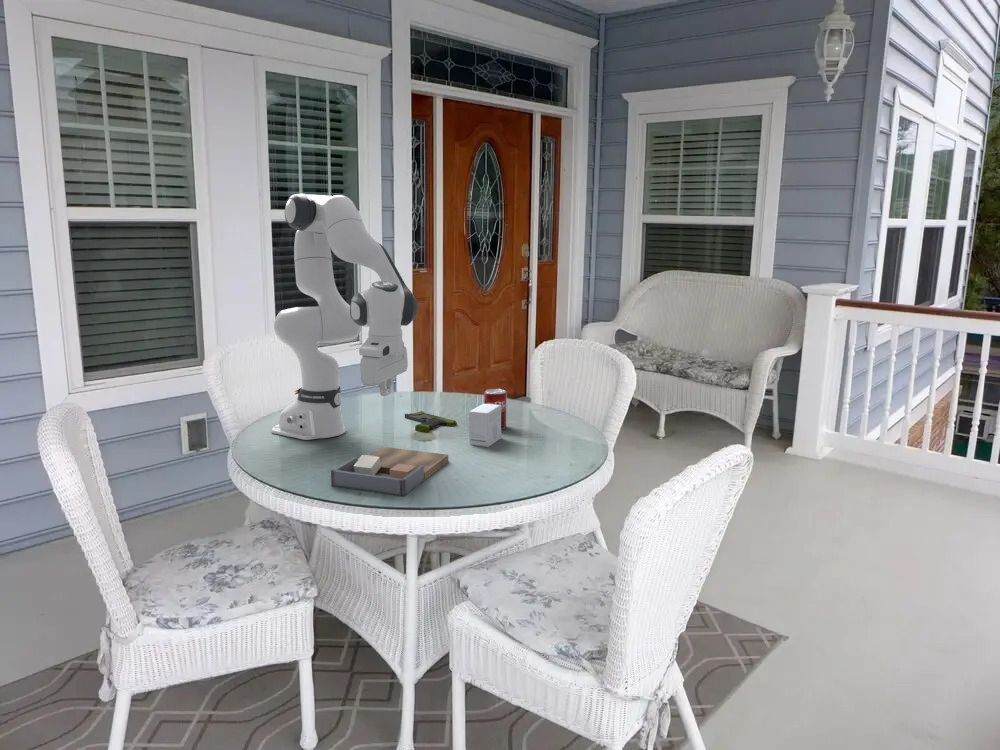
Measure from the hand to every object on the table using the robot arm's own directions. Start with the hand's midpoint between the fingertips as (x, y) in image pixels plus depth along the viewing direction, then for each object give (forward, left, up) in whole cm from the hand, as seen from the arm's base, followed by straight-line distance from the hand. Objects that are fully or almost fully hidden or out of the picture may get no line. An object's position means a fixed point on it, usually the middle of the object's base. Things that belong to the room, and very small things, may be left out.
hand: (385, 394), depth 208 cm
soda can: (+16, +45, -20) cm, 52 cm away
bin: (+5, -15, -19) cm, 25 cm away
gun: (-8, +41, -20) cm, 47 cm away
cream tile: (0, -10, -18) cm, 21 cm away
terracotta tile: (+10, -11, -19) cm, 24 cm away
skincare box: (+18, +30, -20) cm, 40 cm away
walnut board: (+5, 0, -19) cm, 20 cm away
